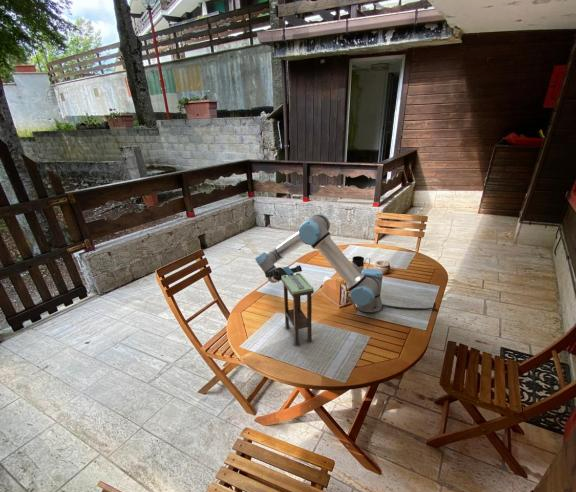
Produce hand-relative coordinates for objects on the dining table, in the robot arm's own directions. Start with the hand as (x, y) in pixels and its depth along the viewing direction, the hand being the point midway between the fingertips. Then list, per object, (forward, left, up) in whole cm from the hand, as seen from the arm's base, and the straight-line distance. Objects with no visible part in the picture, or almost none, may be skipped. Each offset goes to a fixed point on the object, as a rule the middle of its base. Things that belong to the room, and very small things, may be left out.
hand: (287, 270), depth 160 cm
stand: (-10, +10, -31) cm, 34 cm away
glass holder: (-21, -67, -31) cm, 77 cm away
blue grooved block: (-6, +6, -1) cm, 9 cm away
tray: (-10, +10, -1) cm, 14 cm away
